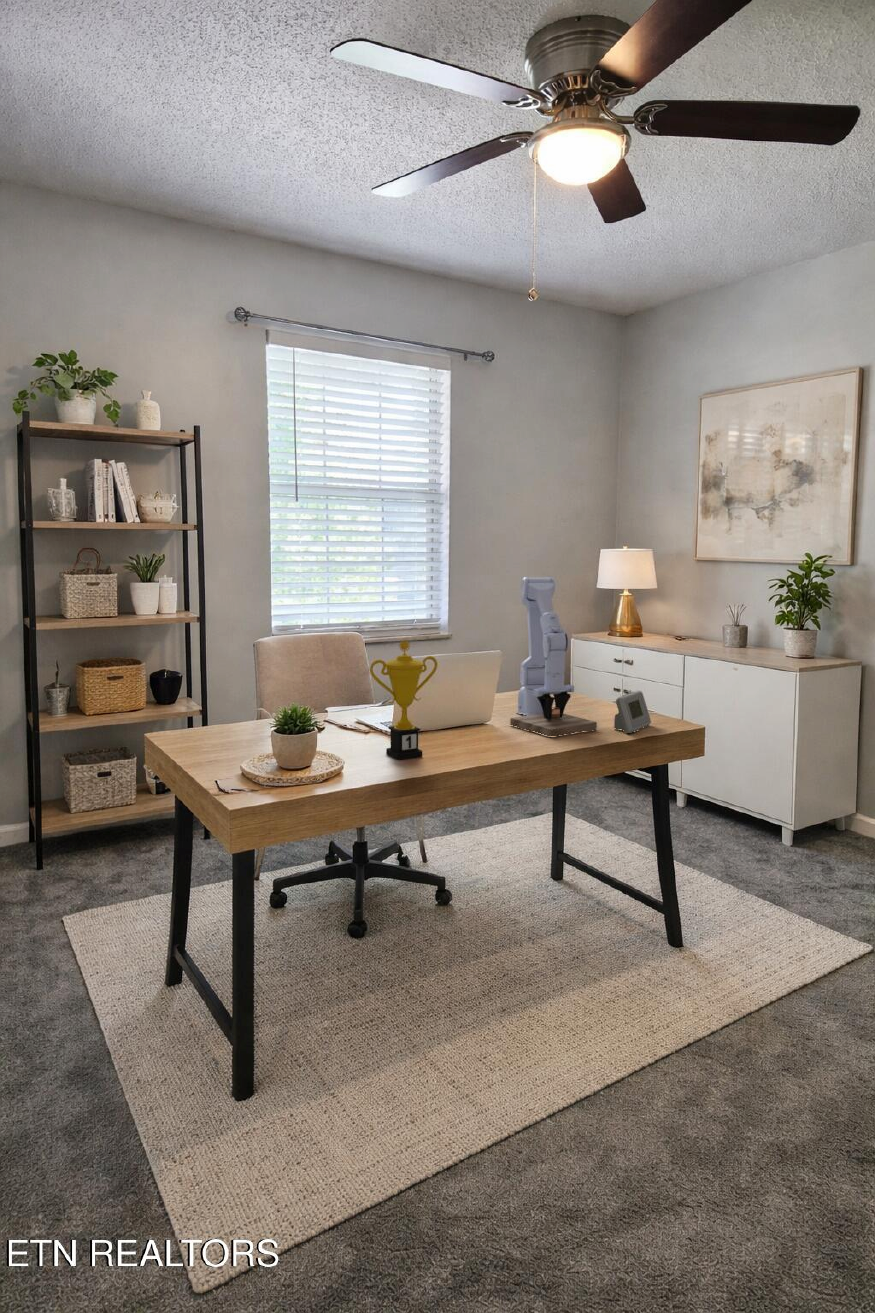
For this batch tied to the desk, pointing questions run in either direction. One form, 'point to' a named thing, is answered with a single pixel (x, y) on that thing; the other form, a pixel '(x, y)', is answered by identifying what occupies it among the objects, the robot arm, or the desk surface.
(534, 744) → the desk surface
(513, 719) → the block
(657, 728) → the desk surface
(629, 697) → the digital clock
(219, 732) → the desk surface
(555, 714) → the plunger
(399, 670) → the trophy
